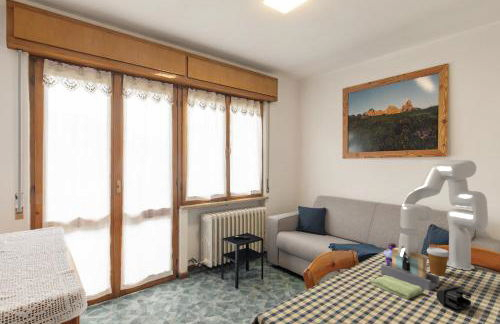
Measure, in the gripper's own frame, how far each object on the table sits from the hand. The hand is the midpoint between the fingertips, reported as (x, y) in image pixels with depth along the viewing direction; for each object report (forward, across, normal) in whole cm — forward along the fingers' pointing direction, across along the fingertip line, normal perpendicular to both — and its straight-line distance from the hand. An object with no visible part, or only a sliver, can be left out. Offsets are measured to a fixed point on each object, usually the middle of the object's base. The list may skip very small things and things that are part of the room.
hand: (408, 268), depth 128 cm
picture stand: (+5, 0, 0) cm, 5 cm away
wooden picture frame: (+3, 0, 0) cm, 3 cm away
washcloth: (+6, +16, +2) cm, 17 cm away
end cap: (+5, +11, +22) cm, 25 cm away
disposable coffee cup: (+5, -21, +4) cm, 22 cm away
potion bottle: (+5, -11, -14) cm, 19 cm away
